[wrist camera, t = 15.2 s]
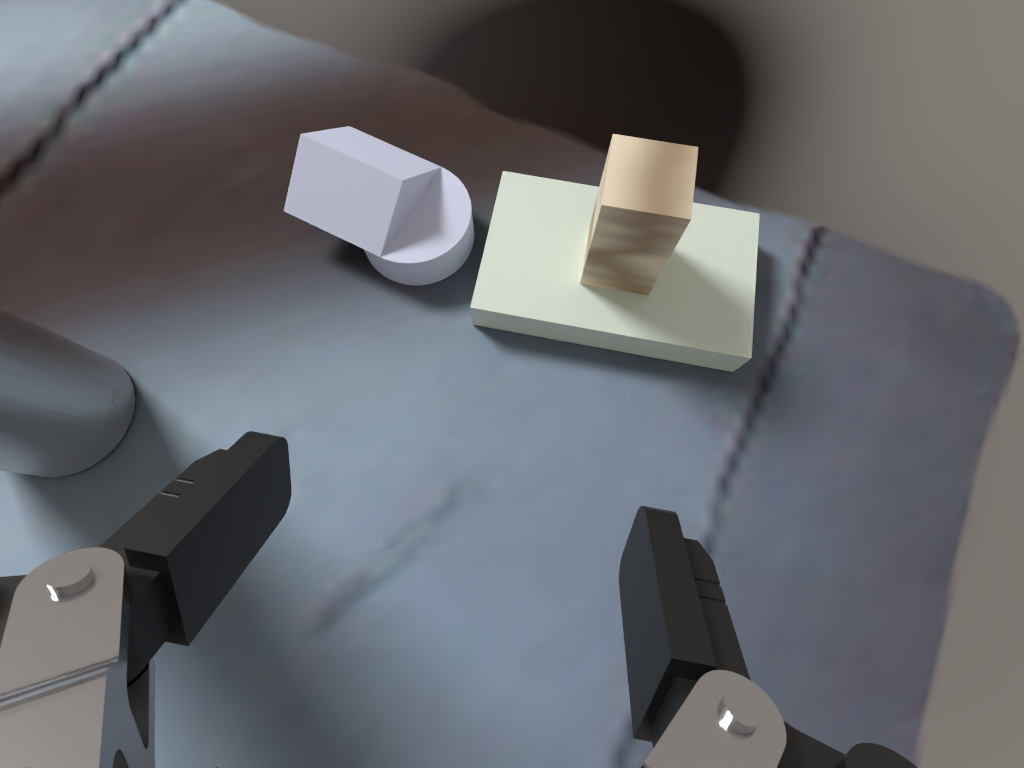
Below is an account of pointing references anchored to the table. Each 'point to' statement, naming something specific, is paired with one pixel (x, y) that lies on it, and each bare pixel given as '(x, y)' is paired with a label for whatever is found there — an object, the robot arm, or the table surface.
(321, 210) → the wedge on round base
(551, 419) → the table surface
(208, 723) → the table surface
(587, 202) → the sage board
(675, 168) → the birch block
